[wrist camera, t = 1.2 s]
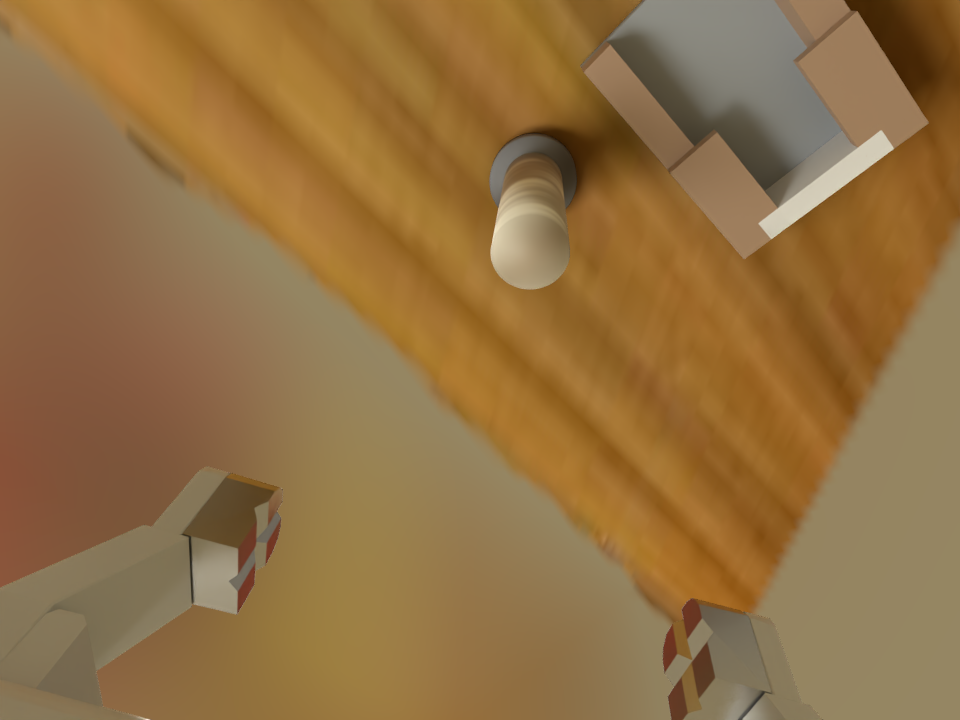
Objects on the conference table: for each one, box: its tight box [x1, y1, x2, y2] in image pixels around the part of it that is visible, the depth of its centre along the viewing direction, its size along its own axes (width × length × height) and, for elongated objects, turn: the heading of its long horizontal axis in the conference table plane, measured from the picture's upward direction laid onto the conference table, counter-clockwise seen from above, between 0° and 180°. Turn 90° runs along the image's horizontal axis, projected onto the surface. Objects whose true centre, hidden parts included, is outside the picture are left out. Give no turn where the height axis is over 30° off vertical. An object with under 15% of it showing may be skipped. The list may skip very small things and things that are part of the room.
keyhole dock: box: [581, 0, 928, 259], centre depth 35 cm, size 16×12×4 cm
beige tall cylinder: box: [490, 133, 577, 289], centre depth 35 cm, size 6×6×14 cm
